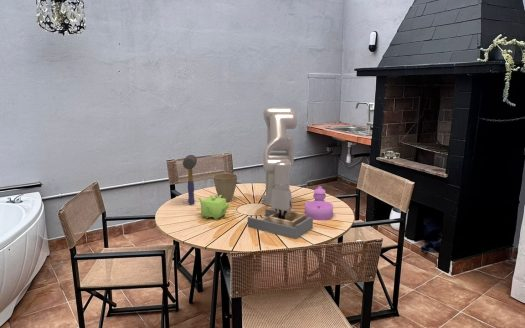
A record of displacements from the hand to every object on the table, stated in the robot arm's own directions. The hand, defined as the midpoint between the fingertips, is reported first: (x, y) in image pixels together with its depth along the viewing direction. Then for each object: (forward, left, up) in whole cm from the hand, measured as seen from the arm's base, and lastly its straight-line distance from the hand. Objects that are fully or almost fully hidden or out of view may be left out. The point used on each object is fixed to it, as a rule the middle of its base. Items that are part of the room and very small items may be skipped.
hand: (281, 221), depth 190 cm
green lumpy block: (-40, -6, -3) cm, 40 cm away
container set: (+5, +32, -4) cm, 33 cm away
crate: (+3, 0, -2) cm, 4 cm away
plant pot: (-54, +21, -3) cm, 58 cm away
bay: (-1, 0, -3) cm, 3 cm away
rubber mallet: (-66, +3, -3) cm, 66 cm away
